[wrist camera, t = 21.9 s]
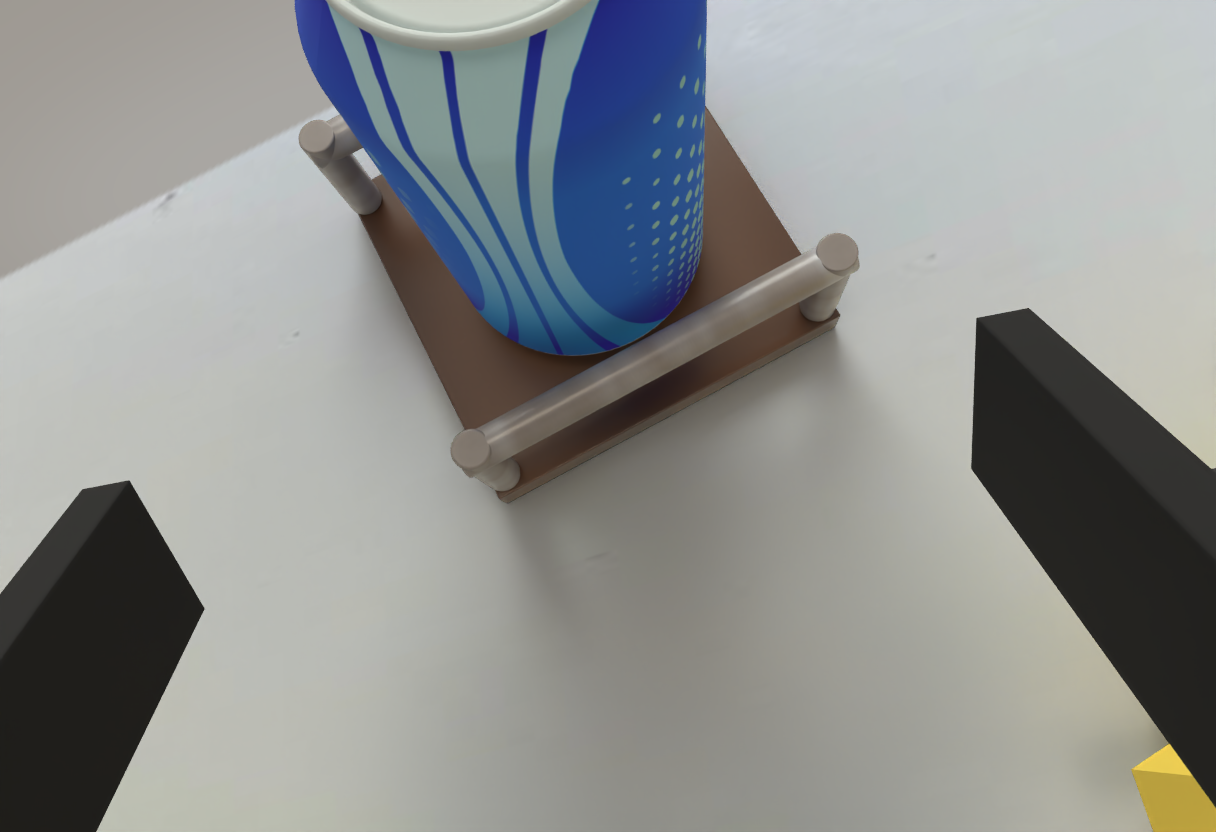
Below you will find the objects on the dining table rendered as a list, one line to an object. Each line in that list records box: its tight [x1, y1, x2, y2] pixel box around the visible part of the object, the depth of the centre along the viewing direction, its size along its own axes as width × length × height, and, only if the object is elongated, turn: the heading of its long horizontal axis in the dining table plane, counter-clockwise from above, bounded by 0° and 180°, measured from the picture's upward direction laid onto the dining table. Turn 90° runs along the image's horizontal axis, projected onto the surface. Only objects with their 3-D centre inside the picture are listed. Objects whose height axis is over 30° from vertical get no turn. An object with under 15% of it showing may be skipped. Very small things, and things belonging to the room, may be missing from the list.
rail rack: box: [299, 106, 859, 503], centre depth 29 cm, size 13×13×6 cm
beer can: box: [295, 0, 707, 356], centre depth 23 cm, size 8×8×16 cm
